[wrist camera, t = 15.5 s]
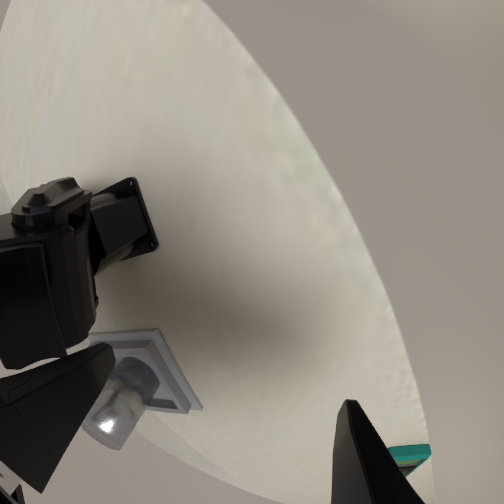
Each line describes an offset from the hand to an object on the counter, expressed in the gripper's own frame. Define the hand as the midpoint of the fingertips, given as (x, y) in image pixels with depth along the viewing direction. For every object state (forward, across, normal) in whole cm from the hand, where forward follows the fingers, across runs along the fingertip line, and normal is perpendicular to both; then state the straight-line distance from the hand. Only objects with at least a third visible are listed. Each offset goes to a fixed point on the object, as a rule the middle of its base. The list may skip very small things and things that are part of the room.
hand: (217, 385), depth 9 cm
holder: (+13, +14, +17) cm, 26 cm away
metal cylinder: (+12, +14, +17) cm, 25 cm away
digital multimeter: (+14, -23, +32) cm, 42 cm away
